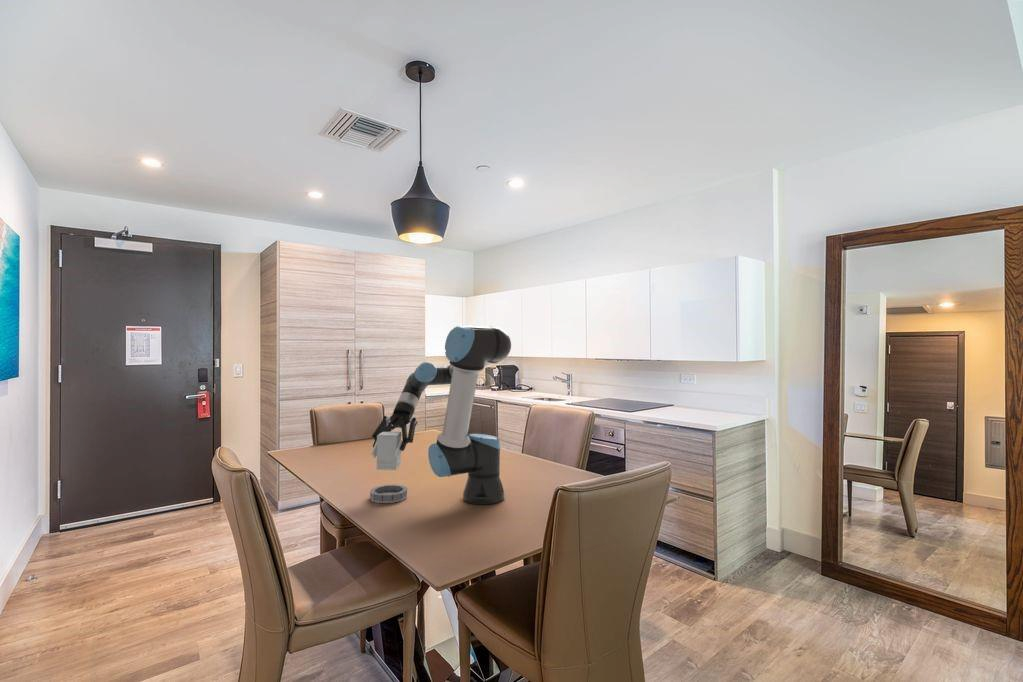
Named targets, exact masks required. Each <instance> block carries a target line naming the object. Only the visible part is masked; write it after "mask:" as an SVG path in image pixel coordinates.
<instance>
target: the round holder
mask: <svg viewBox="0 0 1023 682" xmlns="http://www.w3.org/2000/svg"><path fill="white" fill-rule="evenodd" d="M369 498H370V499H371V500H370V502H372V501H373V502H372V503H374V502H376V504H379V503H391V504H396V503H395V502H397V503H400V502H399V501H401V502H403V501H405V500H406V499H407V498H408V487H407V486H405V485H403V484H383V485H378V486H377V485H376V486H375V487H373V488H371V489H370V491H369ZM404 499H405V500H404ZM402 500H403V501H402Z"/></svg>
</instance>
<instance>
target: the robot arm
mask: <svg viewBox="0 0 1023 682" xmlns="http://www.w3.org/2000/svg"><path fill="white" fill-rule="evenodd" d="M444 344H445V345H444V350H445V352H444V353H445V357H446V359H447V360H448V361H449V365H441V366H439V365H437V366H436V365H435V364H433V363H432V362H429V361H423V362H422V363H420V364H419V365H418V366H417V367H416V369H415V370H414V372H412V373H410V374H409V376H408V377H407V379H406V382H405V384H404V387H403V389H402V391H401V394H400V396H399V398H398V399H397V402H396V405H395V407H394V409H393V412H392V415H390V416H387V415H384V416H383V418H382V420H381V422H380V423H379V424H378V426H377V428H376V429H375V430H374V431H373V433H372V435H371V438H372V439H373V440H374V442H373V444H372V450H371V452H370V455H371V456H372V458H373V459H377V435H379V434H380V433H382V432H392V431H394V430H395V429H396V428H397V429H398V428H400V429H401V440H400V442H399V444H398V447H397V449H396V452H395V454H394V457H395V458H396V460H398V459H399V457H400V454H401V455H402V452H404V451H405V450H406V446H407V445H408V443H409V444H412V443H413V442H414V436H415V430H416V426H417V424H418V420H417V418H416V417H413V416H414V413H415V410H416V408H417V406H418V403H419V401H420V399H421V396H422V395H423V392H424V391H425V389H426V388H427V387H428V386H439V385H450V386H449V392H448V399H447V403H446V409H445V410H446V411H445V417H444V422H443V428H442V431H441V432H440V433H439V434H438V435H437V438H436V443H431V444H430V445H429V446H428V449H427V453H428V454H427V455H428V462H429V464H430V468H431V470H432V472H433V473H434V475H435V476H436V477H438V478H444V477H448V478H450V477H451V476H457V475H463V474H467V480H466V482H465V487H464V489H463V493H462V499H463V501H465V502H466V503H469V504H472V505H493V504H497V503H500V502H502V501H504V499H505V490H504V486H503V483H502V480H501V477H500V472H501V471H500V470H501V469H500V468H501V466H500V464H501V460H500V459H501V457H500V456H501V445H500V444H501V443H500V439H499V438H498V437H497V436H495V435H490V434H485V433H484V434H482V433H469V434H468V432H469V428H470V421H471V417H472V410H473V404H474V399H475V394H476V387H477V382H478V378H479V377H478V376H479V373H480V372H481V371H483V370H484V368H485V367H486V366H489V365H490V364H492V365H493V364H497V363H500V362H502V361H503V360H504V359H506V358H507V357H508V356H509V354H510V352H511V349H512V341H511V338H510V335H509V334H508V333H507V332H506V331H505V330H504V329H502V328H501V327H497V326H491V325H490V326H486V325H485V326H484V325H483V326H479V325H469V324H466V325H457V326H454V327H453V328H452V329H451V330H450V331H449V332H448V333H447V336H446V339H445V343H444ZM407 425H409V430H408V427H407Z"/></svg>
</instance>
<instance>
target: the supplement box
mask: <svg viewBox="0 0 1023 682" xmlns="http://www.w3.org/2000/svg"><path fill="white" fill-rule="evenodd" d="M400 440H402V431H390V432H382V433H380V434H379V435H377V455H376V470H377V471H379V470H380V471H385V470H386V471H396V470H397V469H399V467H400V466H401V465H402V453H401V454H400V457H399V459H398V460H396V458H395V457H394V454H395V452H396V449H397V447H398V444H399V442H400Z"/></svg>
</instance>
